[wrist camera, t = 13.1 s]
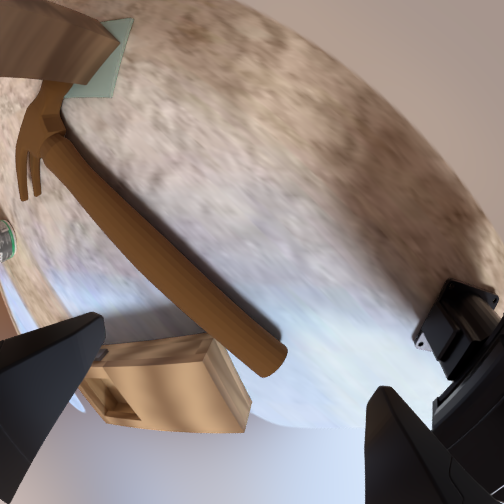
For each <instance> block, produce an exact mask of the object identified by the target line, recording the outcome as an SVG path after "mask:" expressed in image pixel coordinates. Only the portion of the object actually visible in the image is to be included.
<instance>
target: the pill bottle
mask: <svg viewBox="0 0 504 504" xmlns="http://www.w3.org/2000/svg"><path fill="white" fill-rule="evenodd" d="M16 250H17V242H16V236H15V233H14V230H13V228H12V226H11V225H10V223H9V222H7V221H6V220H0V263H2V262H4V261H6V260H7V259H9V258H11V257H13V256H14V255H15V253H16Z"/></svg>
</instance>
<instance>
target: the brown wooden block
mask: <svg viewBox="0 0 504 504" xmlns="http://www.w3.org/2000/svg"><path fill="white" fill-rule="evenodd" d="M120 44H121V43H120V42H119V41H118V40H117V39H116V38H115V37H114V36H113V35H112V34H111V33H110V32H109V31H108V30H107V29H106V28H105V27H104V26H103V25H102V24H101V23H100V22H99V21H98V20H96V19H94V18H91V17H89V16H86V15H84V14H82V13H79V12H77V11H74V10H71V9H69V8H66V7H63V6H61V5H58V4H55V3H52V2H49V1H46V0H0V77H13V78H29V79H40V80H50V81H58V82H66V83H73V84H80V85H87V84H88V82H89V81H90V80H91V78H92V77H93V76H94V75H95V73H96V72H97V71H98V69H99V68H100V67H101V66H102V64H103V63H104V62H105V61H106V60H107V58H108V57H109V56H110V55H111V54H112V53H113V51H114V50H115V49H116V48H117V47H118V46H119V45H120Z"/></svg>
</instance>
